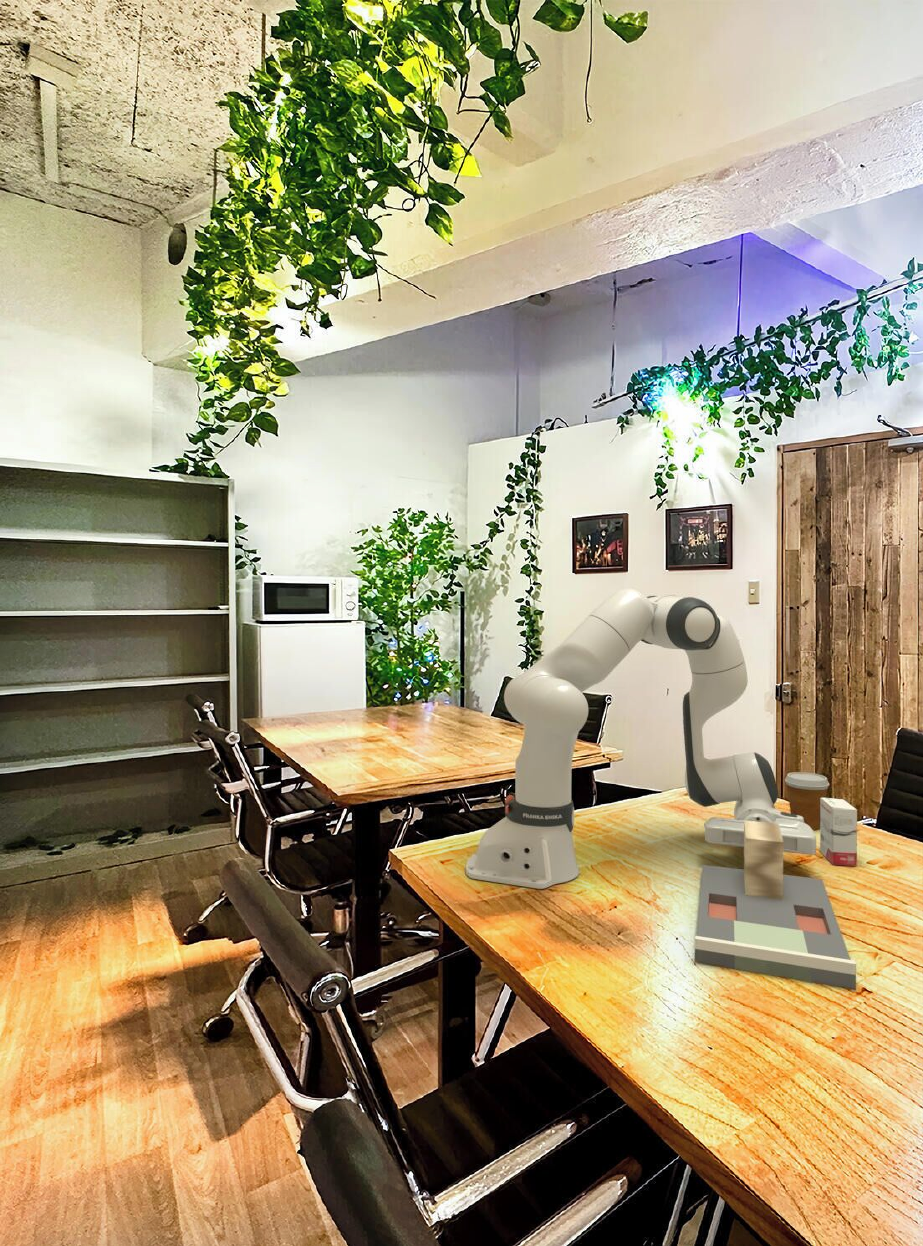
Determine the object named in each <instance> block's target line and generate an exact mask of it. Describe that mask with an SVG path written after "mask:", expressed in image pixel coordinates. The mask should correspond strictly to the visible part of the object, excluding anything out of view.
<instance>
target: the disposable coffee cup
mask: <svg viewBox="0 0 923 1246" xmlns="http://www.w3.org/2000/svg"><path fill="white" fill-rule="evenodd" d="M784 781H785V783H786V786H787V794H788V802H789V803H788V804H789V810H790V811H789V812H790V814H795V815H799V816H802V817H803V818H804V823H805V824H807V825H809V826H810V827H811V829H812V830H813V831H818V830H819V831H820V798H827V791H828V788H829V786H830V782H829V781H828V778H827V777H826V776H825V775H821V774H818V773H814V772H813V773H812V772H801V771H800V772H797V771H796V772H789V773H787V775H786V777H785V779H784Z"/></svg>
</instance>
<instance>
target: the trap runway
mask: <svg viewBox="0 0 923 1246" xmlns="http://www.w3.org/2000/svg"><path fill="white" fill-rule="evenodd" d="M701 868H702V869H701V875H700V876H701V878H700V889H699V898H698V899H699V900H698V901H699V902H698V912H697V922H696V933H695V936H694V962H695V963H698V964H705V965H710V966H716V967H721V968H726V969H728V968H729V969H733V970H738V971H739V970H740V971H744V972H745V971H747V972H750V973H751V972H753V973H756V974H757V973H758V974H764V975H769V976H775V977H781V978H787V979H794V980H798V981H804V982H805V981H806V982H811V983H816V984H823V985H829V986H833V987H840V988H846V989H851V990H856V989H857V963H856V960H852V959H851V957H850V954H849V951H848V949H847V945H846V943H845V941H844V940H845V939H844V937H843V935H842V931H841V929H840V927H839V923H838V921H837V917H836V915H835V912H834V908H833V906H832V902H831V901H830V898H829V895H828V892H827V889H826V886H825V883H824V881H823V879H822V878H821V879H820V878H814V877H806V876H797V875H790V874H783V900H781V899H774V898H766V897H759V896H751V895H745V883H744V869H740V868H734V867H733V868H732V867H724V866H716V865H707V864H702V865H701Z"/></svg>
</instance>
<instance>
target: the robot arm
mask: <svg viewBox="0 0 923 1246" xmlns="http://www.w3.org/2000/svg"><path fill="white" fill-rule="evenodd" d="M640 642H642V643H645V644H648V645H655V646H657V647H661V648H664V649H670V650H684V652H685V653H686V655H687V658H688V663H689V668H690V672H691V677H692V678H691V685H690V689H689V690H688V692H686V693H685V694H684V695H683V698H682V725H683V742H684V753H685V764H686V765H685V772H684V785H685V790H686V793H687V795H688V797H689V799H690V800H691V801H693V802H694V803H696V804H697V805H699V806H702V807H703V808H707V807H711V806H716V805H720V804H723V803H731V802H732V803H733V802H735V806H734V811H733V812H734V813H733V817H734V818H727V817H719V816H718V817H710V818H708V819H707V821H705V822H704V824H703V827H704V839H705V842H707V843H709V844H711V845H713V844H714V845H723V846H730V847H740V848H744V820H746V821H756V822H766V823H777V824H779V827H780V831H781V835H782V839H783V853H784V852H785V853H791V854H792V853H793V854H801V855H809V856H811V855H815V854H817V836H816V834H815V832H814V830H812V829H811V827H810V826H809V825H807V824H805V823H804V818H803V817H802V816H799V815H795V814H791V812H790V813H789V812H785V811H782V810H778V809H777V808H776V806H775V804H776V802H777V800H778V798H779V790H778V785H777V781H776V778H775V775H774V772H773V769H772V767H771V764H770V762H769V760H767V759H766V758H765V757H764V756H762V755H761V754H759V753H758V752H756V751H755V752H747V753H741V754H734V755H731V756H730V755H729V756H723V757H717V758H711V759H710V758H705V756H704V754H705V753H704V740H703V728H704V725H705V724H706V722H707V721H708V720H710V719H711V718H712V717H714V716H715V715H716V714H718V713H720V712H722V711H723V710H725V709H727V708H728V707H730V706H732V705H734V703H736V702H737V701H738V700H739V699H740V698H741V696H742V695H744V693H745V691H746V689H747V686H748V672H747V666H746V662H745V658H744V655H743V654H744V653H743V650H742V647H741V645H740V641H739V639H738V637H737V635H736V632H735V630H734V628H733V626H732V624H731V622H730V620H728V619H727V618H726V616H723V615H721V614H717V613H716V611H715V609H714V608H713V607H712V606H711V605H710V604H709V603H707V601H704V600H702V599H699V598H696V597H693V596H692V597H691V596H690V597H689V596H688V597H686V596H678V595H675V594H671V595H670V594H669V595H668V594H667V595H665V594H664V595H648V596H646V595H645V594H644V593H643V592H641V591H639V590H637V589H634V588H628V587H627V588H622V589H619V590H618V591H617V592H615V593H614V594H612V595H610V596H609V597H608V598H607V599H606V600H604V601H603V602H602V603H600V604H599V605H597V607H596V608H594V609H593V611H592V612H590V614H589V615H587V617H586V618H584V620H583V621H582V622H581V623H580V624H579V625H578V626H577V627H576V628H575V629H574V630H573V631H572V632H571V633H570V634H569V635H568V636H567V637H566V638H565V639H564V640H563V641H562V642H561V643H560V644H559V645H558V646H557V647H555V648H554V649H552V650H551V651H550V652H549V653H547V654H546V655H544V656H543V657H542V658H540V659H539V660H538V661H537V662H535V663H534V664H533V665H531V666H530V667H529V668H528V669H527V670H525V671H524V672H522V673H521V674H518V675H517V676H515V677H514V678H512V679H511V680H510V681H509V682H508V684H507V685H506V687H505V689H504V695H503V699H504V700H503V702H504V705H505V707H506V710H507V712H508V713H509V714H510V715H511V717H512V718H513V719H514V720H516V721H517V722H518V723H520V724H522V725H523V726H524V733H523V739H522V743H521V747H520V751H519V754H518V755H517V757H516V759H515V765H514V766H515V770H514V771H515V778H514V779H515V790H514V791H515V795H512V794H509V795H507V797H506V799H505V800H504V803H505V804H504V815H505V817H503V818H502V819H501V820H499V821H498V822H496V823H495V824H493V825H492V826H491V827H489V828H488V829H487V830H485V832H484V833H483V834H481V837H480V839H479V843H478V845H477V851H476V852H474V853H473V854H471V855H470V856H469V857H468V859H467V860H466V863H465V864H466V865H465V873H466V876H468V877H469V878H470V879H473V880H474V879H475V880H480V881H486V882H492V883H500V884H506V885H512V886H519V887H525V888H532V889H539V890H541V889H543V890H544V889H546V888H547V889H548V887H551V886H553V885H557V884H562V883H563V884H564V883H566V882H569V881H572V880H574V879H576V878H577V877H578V876H579V874H580V868H579V865H578V861H577V857H576V851H575V845H574V837H573V830H574V827H575V807H574V801H573V799H572V764H573V756H574V752H575V747H576V743H577V739H578V736H579V732H580V731H581V730H582V729H583V727H584V726H585V724H586V722H587V719H588V717H589V704H588V701H587V698H586V697H585V695H584V694H583V693H584V692H585V691H587V690H588V689H590V688H591V687H594V686H595V685H598V684H599V683H602V682H603V681H604V680H605V679H606V678H607V677H608V676H609V675H610V674H611V673H612V672H613V671H614V669H615V668H616V667H618V665H619V664H620V663H621V662H622V661H623V660H624V659H625V658H626V657H627V656H628V654H630V652H631V651H632V650H633V649H634V648H635V647H636V646H637V644H638V643H640Z"/></svg>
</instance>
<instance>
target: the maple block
mask: <svg viewBox="0 0 923 1246" xmlns="http://www.w3.org/2000/svg"><path fill="white" fill-rule="evenodd" d="M743 870H744V883H745V895H751V896H759V897H766V898H774V899H781V900H783V875H784V852H783V839H782V835H781V831H780V827H779V824H777V823H766V822H756V821H746V820H744V847H743Z"/></svg>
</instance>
